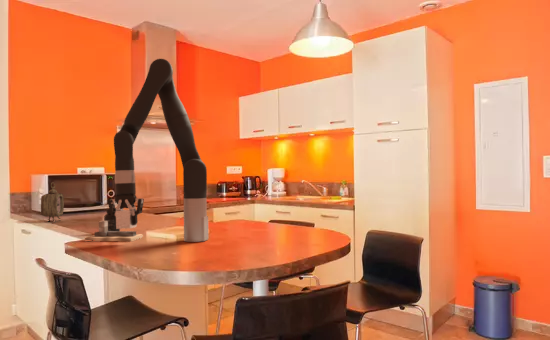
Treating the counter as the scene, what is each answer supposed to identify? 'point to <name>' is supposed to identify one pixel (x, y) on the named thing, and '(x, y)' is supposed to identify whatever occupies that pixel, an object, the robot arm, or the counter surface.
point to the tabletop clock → (52, 203)
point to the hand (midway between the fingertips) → (126, 225)
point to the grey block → (124, 219)
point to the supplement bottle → (110, 221)
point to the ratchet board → (114, 238)
